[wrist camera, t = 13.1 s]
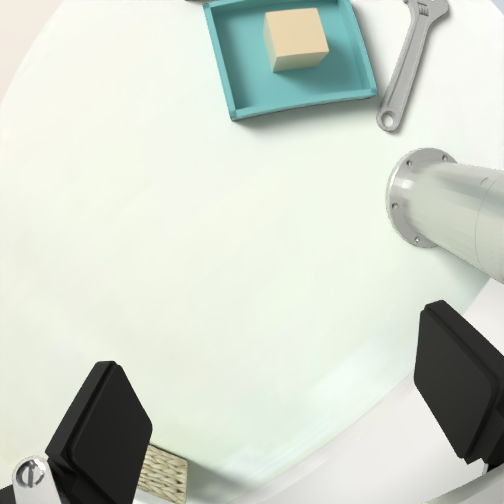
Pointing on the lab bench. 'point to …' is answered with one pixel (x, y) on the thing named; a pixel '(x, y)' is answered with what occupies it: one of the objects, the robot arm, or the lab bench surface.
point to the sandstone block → (294, 39)
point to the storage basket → (162, 479)
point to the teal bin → (288, 81)
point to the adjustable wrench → (409, 58)
